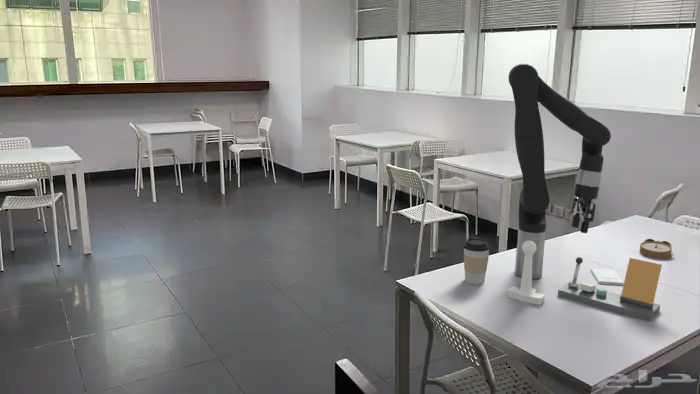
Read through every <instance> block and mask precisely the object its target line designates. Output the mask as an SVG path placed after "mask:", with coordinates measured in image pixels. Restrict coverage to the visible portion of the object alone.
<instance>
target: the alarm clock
mask: <svg viewBox="0 0 700 394" xmlns="http://www.w3.org/2000/svg"><path fill="white" fill-rule="evenodd" d="M639 244H640V245H639V254H640V255H642V256H645V257H647V256H648V257H647V258H651V257H652V258H653V259H658V258H659V259H661V260H663V259H669V258H671V257H672V250H673V248H672V244H671V242H669V241H666V240H663V241H660V240H655V239H653V238H647V239H645V240H644V241H643V242H640V243H639Z"/></svg>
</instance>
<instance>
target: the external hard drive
mask: <svg viewBox="0 0 700 394" xmlns="http://www.w3.org/2000/svg"><path fill="white" fill-rule="evenodd" d="M590 272H591V275H592V276H593V277H594V279H595V281H596V282H597V284H599V285H614V286H623V285H624V281H623V280H622V279H621V277H620V276H619V274H618V273H617V272H616V271H615V270H614V269H608V268H590Z"/></svg>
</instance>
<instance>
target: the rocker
mask: <svg viewBox="0 0 700 394" xmlns="http://www.w3.org/2000/svg"><path fill="white" fill-rule="evenodd" d="M579 284H580V288H579V289H581V290H585V291H588V292H592V291H595V289H596V288H597V287H596V286H597V285H596V284H592V283H588V282H582V283H579Z"/></svg>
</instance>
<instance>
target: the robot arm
mask: <svg viewBox="0 0 700 394" xmlns="http://www.w3.org/2000/svg"><path fill="white" fill-rule="evenodd" d="M508 83H509V85H510V87H511V89H512V95H513V101H514V107H515V108H514V109H515V110H514V111H515V114H514V143H515V150H516V155H517V160H518V164H519V167H520V171H521V176H522V189H521V190H520V194H519V200H518V202H519V203H518V229H517V230H518V231H517V244H516V245H517V246H516V250H515V264H514V273H515V277H518V278H519V277H520V278H522V272H523V265H524V258H525V254H524V252H523V250H522V245H523V243H524V242H525V241H533V242H534V243H535V244H536V247H537V249H536V251H535V253H534V254H533V256H532V280H537V279H541V278H542V277H543V268H544V267H543V265H544V257H545V256H544V254H545V242H546V230H547V229H546V228H547V220H546V218H547V217H546V210H547V209H548V207H549V205H550V200H551V199H550V195H549V190H548V186H547V182H546V181H547V180H546V175H545V174H546V173H545V143H544V141H545V140H544V132H543V124H542V119H541V113H540V110H539V109H540V107H539V104H540V105H541V106H542V107H544V108H545V109H546V110H547V111H548V112H549V113H550V114H551V115H552V116H554V117H555V118H556V119H557V120H558V121H560V122H561V123H562V124H563V125H565V126H566V127H567V128H568V129H570V130H572V131H574V132H576V133H578V134H579V135H581V136H582V138H581V139H582V140H581V141H582V142H581V157H580V158H581V159H580V164H579V168H578V172H577V175H576V180H575V186H574V191H573V196H574V197H573V200H572V206H571V211H570V213H571V214H572V220H571V221H572V222H571V227H572V228H575V229H576V228H577V229H578V228H579V226H580V231H579V232H580V233H582V234H587V233H588V231H589V225H590V223H593V221H594V218H595V211H596V204H595V203H593V200H597V199H598V196H599V191H600V187H601V180H602V171H603V166H604V165H603V164H604V156H603V154H602V153H603V147H605V145H607V144H608V143H609V142H610V141H611V137H612V134H611V130H610V129H609V128H608V127H607V126H606V125H604V124H603V123H601V122H600V121H598V120H597V119H595V118H593V117H592V116H590V115H589V114H588V113H587V112H585V111H584V110H583V109H581V108H580V107H579V105H576V104H575V103H574V102H573V101H571V100H570V99H569V98H567V97H566V96H563V95H562V94H561V93H559V92H558V91H556V90H555V89H553V88H552V87H551V86H550V85H548V84H547V82H545V81H544V80H543V79H542V77H541V76H539V73H538V71H537V69H536V67H534V65H532V64H529V63H519V64H517V65H514V66H513V67H512V68H511V69H510V71H509V72H508ZM580 219H581V225H580Z"/></svg>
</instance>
